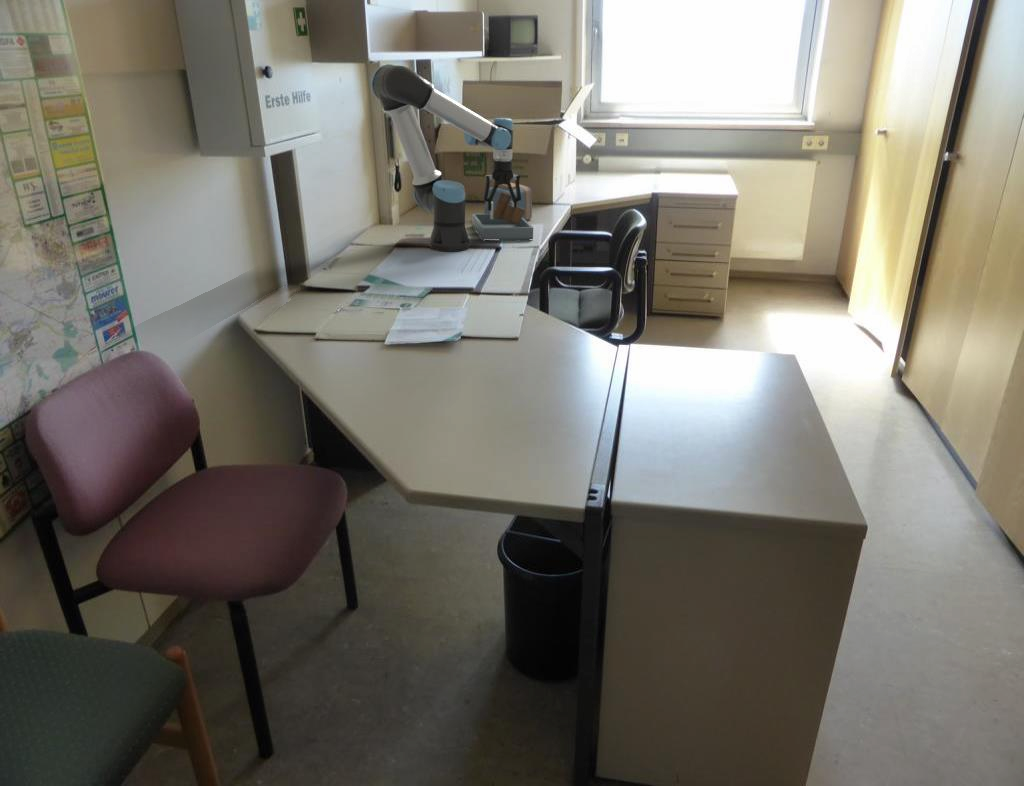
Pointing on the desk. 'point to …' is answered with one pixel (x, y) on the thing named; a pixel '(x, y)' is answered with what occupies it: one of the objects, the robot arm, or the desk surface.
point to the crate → (501, 228)
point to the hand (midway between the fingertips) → (501, 218)
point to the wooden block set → (507, 210)
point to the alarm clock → (523, 203)
